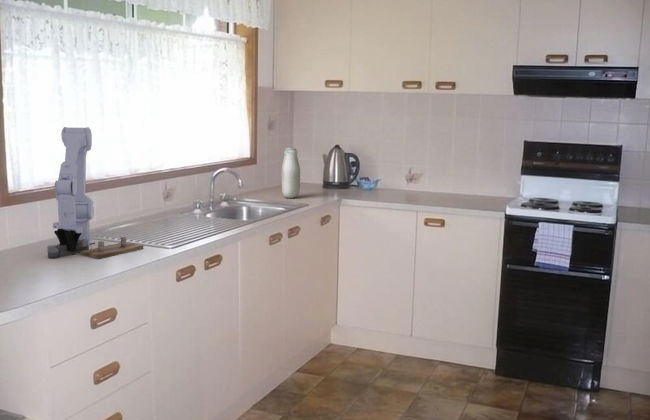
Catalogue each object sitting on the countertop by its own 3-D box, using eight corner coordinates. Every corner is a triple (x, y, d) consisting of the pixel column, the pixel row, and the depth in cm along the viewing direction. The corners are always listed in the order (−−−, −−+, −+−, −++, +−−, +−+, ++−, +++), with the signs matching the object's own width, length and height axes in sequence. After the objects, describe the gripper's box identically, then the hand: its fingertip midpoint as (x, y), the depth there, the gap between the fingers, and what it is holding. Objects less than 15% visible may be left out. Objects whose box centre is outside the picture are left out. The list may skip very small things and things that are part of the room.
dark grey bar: (45, 257, 242) (44, 246, 241) (84, 249, 255) (83, 238, 254) (52, 259, 240) (51, 248, 239) (91, 251, 253) (90, 240, 252)
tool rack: (80, 254, 247) (80, 242, 246) (125, 244, 263) (125, 233, 262) (98, 258, 241) (98, 246, 240) (143, 248, 257) (143, 236, 257)
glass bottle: (292, 195, 391) (292, 146, 386) (303, 198, 383) (303, 147, 378) (277, 197, 384) (278, 147, 379) (289, 199, 377) (289, 148, 372)
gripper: (44, 212, 245) (46, 249, 248) (69, 216, 237) (71, 255, 240) (61, 209, 251) (63, 245, 253) (87, 213, 243) (88, 251, 245)
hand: (68, 250), depth 247 cm, fingers open, 4 cm apart
